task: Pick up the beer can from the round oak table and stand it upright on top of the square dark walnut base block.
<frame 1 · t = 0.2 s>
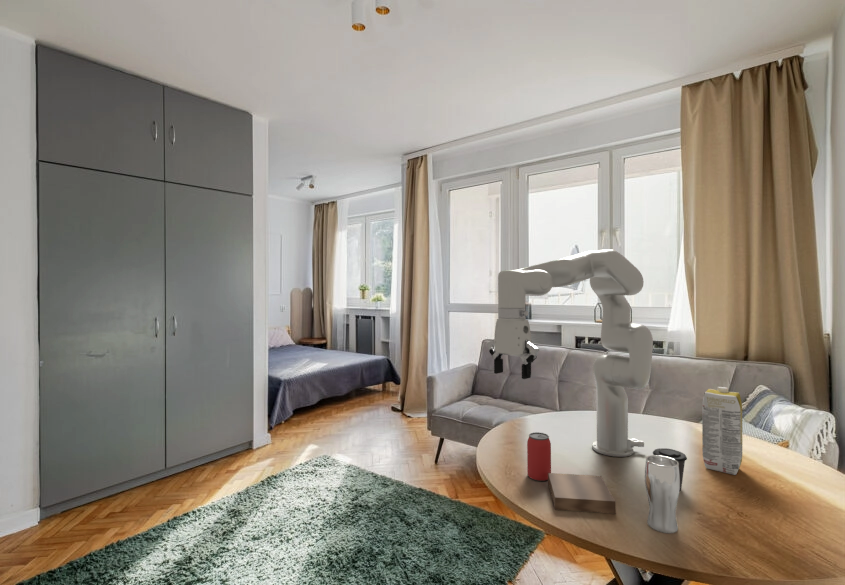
hand: (512, 375, 120), 30 cm above the table, tool pointing down, fingers open, 9 cm apart
beer glass: (662, 526, 98), on the table
walnut base: (579, 497, 111), on the table
juice carton: (722, 469, 128), on the table
beer can: (539, 477, 124), on the table
coffee cup: (669, 488, 116), on the table
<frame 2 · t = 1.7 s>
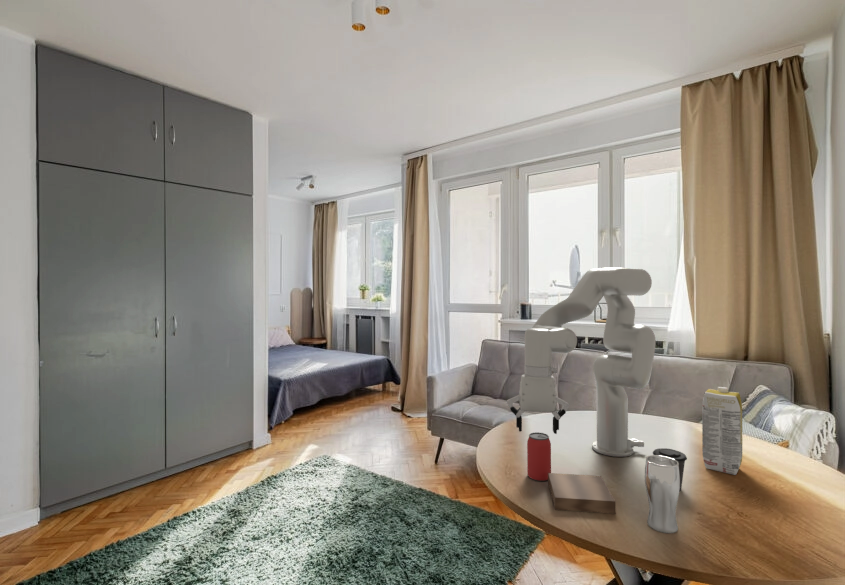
hand: (537, 431, 123), 13 cm above the table, tool pointing down, fingers open, 9 cm apart
nothing on the table moved.
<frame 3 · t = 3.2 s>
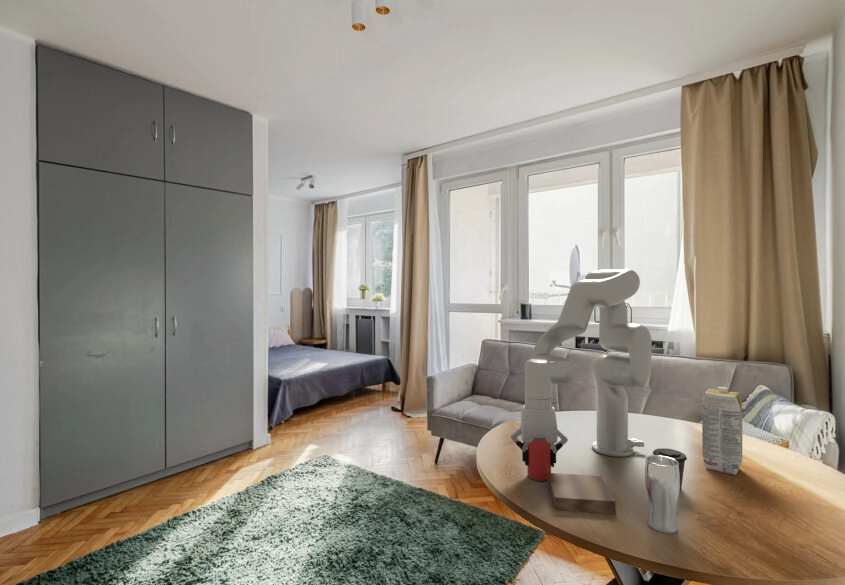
hand: (539, 464, 124), 4 cm above the table, tool pointing down, fingers closed on beer can, 6 cm apart
beer can: (539, 477, 124), on the table, touching gripper
everything else where it was.
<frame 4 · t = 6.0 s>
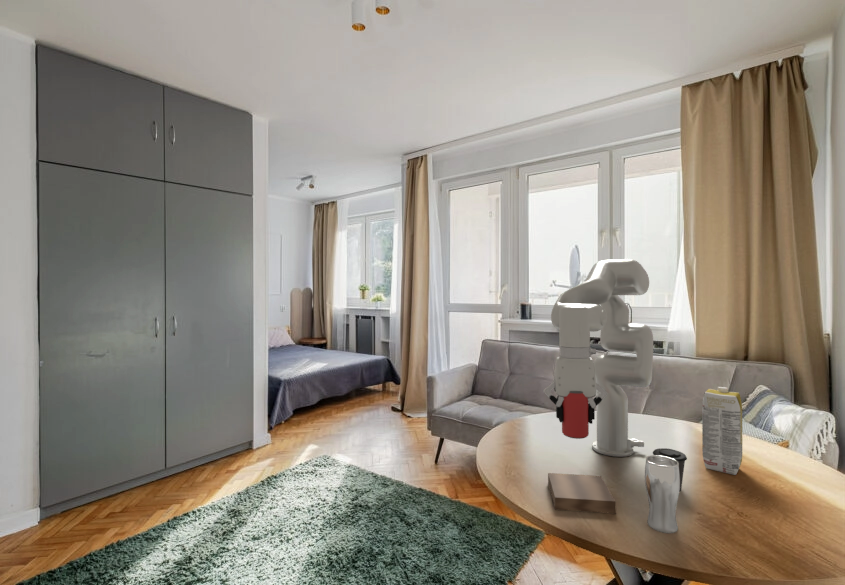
hand: (575, 420, 112), 20 cm above the table, tool pointing down, fingers closed on beer can, 6 cm apart
beer can: (575, 435, 112), point 16 cm above the table, touching gripper
everything else where it was.
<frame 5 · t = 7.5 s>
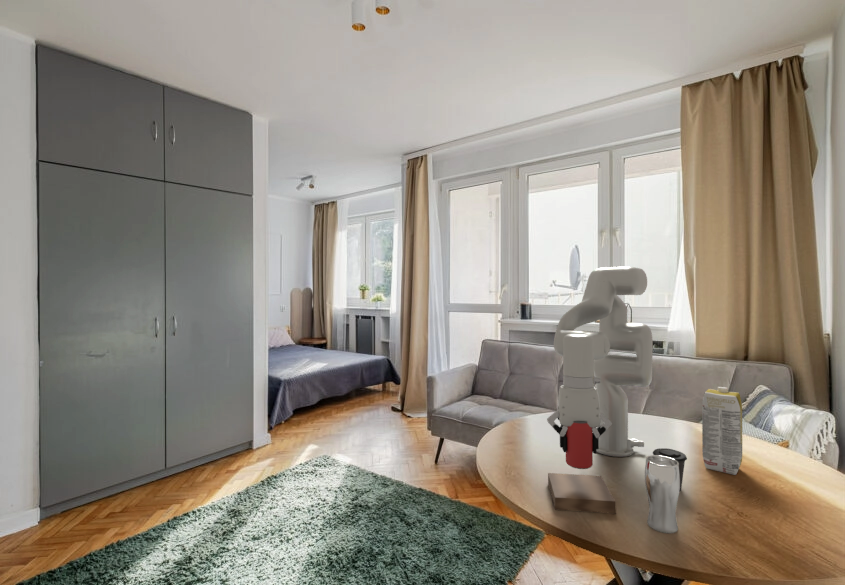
hand: (578, 450, 111), 12 cm above the table, tool pointing down, fingers closed on beer can, 6 cm apart
beer can: (579, 465, 111), point 8 cm above the table, touching gripper
everything else where it was.
when the fingers open (8 cm above the table, at t = 8.8 s): beer can drops 1 cm, resting on walnut base.
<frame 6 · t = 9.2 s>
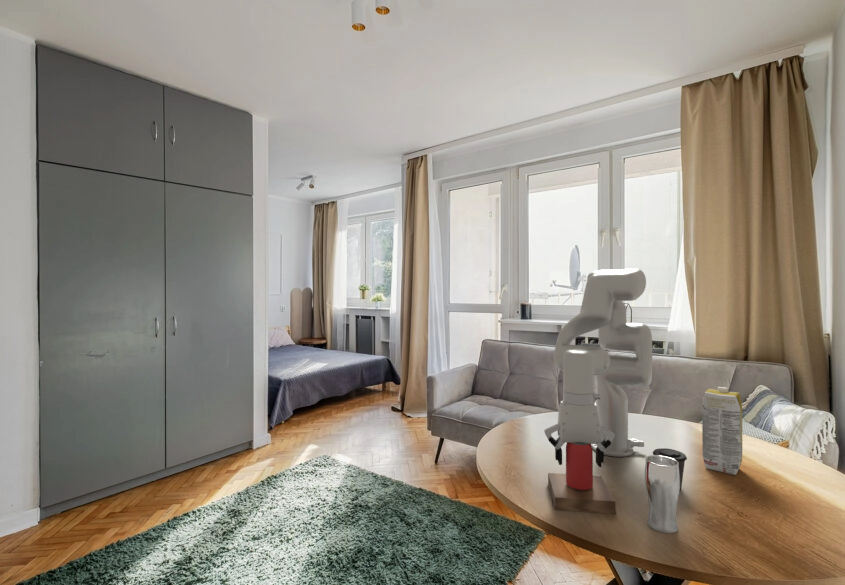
hand: (579, 463, 111), 9 cm above the table, tool pointing down, fingers open, 9 cm apart
beer can: (579, 486, 112), point 3 cm above the table, touching walnut base
everything else where it was.
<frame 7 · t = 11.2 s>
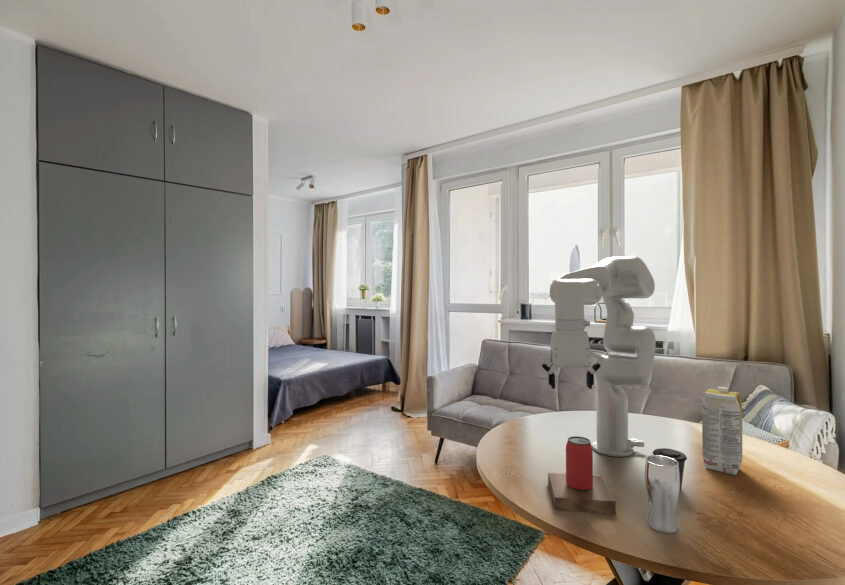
hand: (571, 387, 118), 27 cm above the table, tool pointing down, fingers open, 9 cm apart
nothing on the table moved.
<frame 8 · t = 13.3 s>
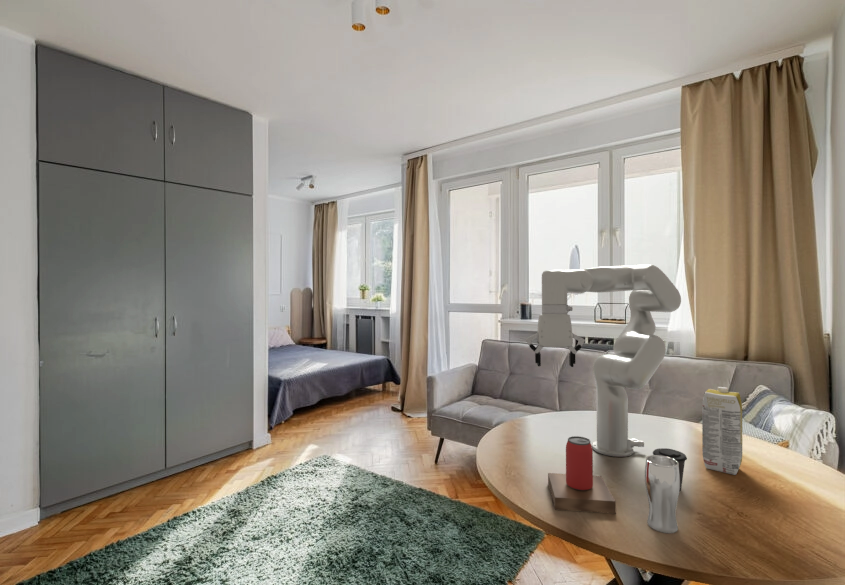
hand: (555, 365, 132), 30 cm above the table, tool pointing down, fingers open, 9 cm apart
nothing on the table moved.
at the end: beer can inside the target area on the walnut base (0.2 cm from its centre), point 2.8 cm above the walnut base's base; beer can tilted 0°; the gripper is holding nothing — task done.
